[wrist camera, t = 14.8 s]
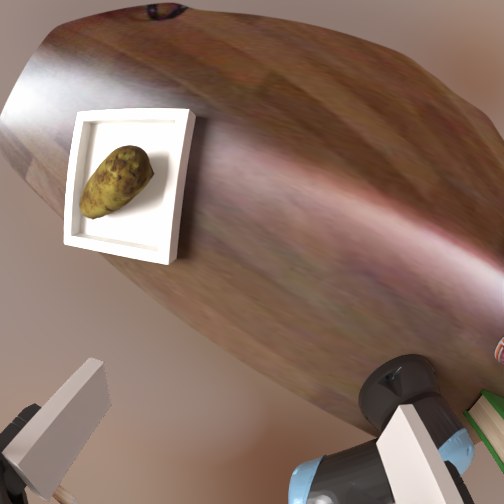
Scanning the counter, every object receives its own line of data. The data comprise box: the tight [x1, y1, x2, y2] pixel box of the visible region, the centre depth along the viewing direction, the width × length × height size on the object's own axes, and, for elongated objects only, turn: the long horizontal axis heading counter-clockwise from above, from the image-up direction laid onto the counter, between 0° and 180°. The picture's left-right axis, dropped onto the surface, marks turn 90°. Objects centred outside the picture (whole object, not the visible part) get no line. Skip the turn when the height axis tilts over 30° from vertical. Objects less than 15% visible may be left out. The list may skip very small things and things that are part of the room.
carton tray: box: [64, 108, 196, 265], centre depth 35 cm, size 20×18×4 cm
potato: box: [79, 145, 155, 220], centre depth 32 cm, size 8×13×8 cm, turn 98°
